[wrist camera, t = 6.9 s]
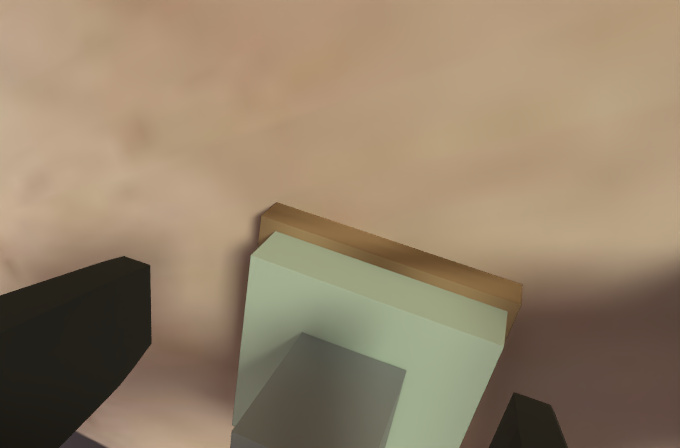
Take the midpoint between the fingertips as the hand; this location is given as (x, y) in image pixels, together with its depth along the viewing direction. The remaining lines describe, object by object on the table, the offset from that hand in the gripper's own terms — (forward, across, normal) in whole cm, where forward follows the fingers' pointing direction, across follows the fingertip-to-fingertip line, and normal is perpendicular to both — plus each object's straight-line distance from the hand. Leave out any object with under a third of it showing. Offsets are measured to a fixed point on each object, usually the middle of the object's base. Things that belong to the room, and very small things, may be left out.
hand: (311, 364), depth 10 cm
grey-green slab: (+9, 0, +8) cm, 12 cm away
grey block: (+7, 0, +8) cm, 10 cm away
